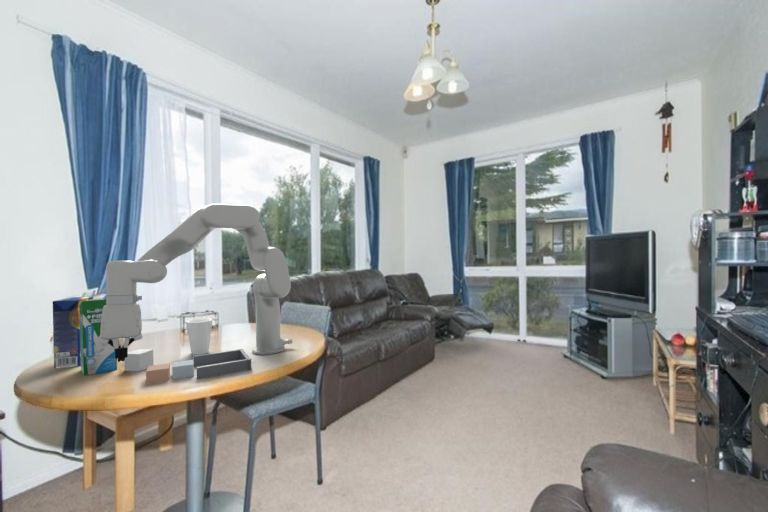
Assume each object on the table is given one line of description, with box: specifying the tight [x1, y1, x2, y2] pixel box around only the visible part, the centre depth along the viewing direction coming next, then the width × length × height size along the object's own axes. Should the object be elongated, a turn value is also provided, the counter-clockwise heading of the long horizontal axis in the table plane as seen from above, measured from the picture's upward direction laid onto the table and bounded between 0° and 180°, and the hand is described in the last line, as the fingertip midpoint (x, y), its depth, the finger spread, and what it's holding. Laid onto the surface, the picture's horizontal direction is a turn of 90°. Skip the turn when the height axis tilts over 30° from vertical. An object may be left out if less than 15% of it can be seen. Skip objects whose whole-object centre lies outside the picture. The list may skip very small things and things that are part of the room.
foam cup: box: [185, 317, 213, 355], centre depth 147 cm, size 10×9×13 cm
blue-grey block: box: [171, 359, 195, 380], centre depth 120 cm, size 6×6×4 cm
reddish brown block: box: [145, 362, 171, 385], centre depth 116 cm, size 6×6×4 cm
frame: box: [192, 348, 252, 380], centre depth 127 cm, size 17×16×4 cm
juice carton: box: [52, 296, 94, 369], centre depth 135 cm, size 12×8×24 cm, turn 17°
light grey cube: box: [123, 348, 154, 372], centre depth 128 cm, size 6×6×6 cm
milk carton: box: [79, 297, 118, 377], centre depth 126 cm, size 9×9×25 cm
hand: (121, 360), depth 111 cm, fingers closed
